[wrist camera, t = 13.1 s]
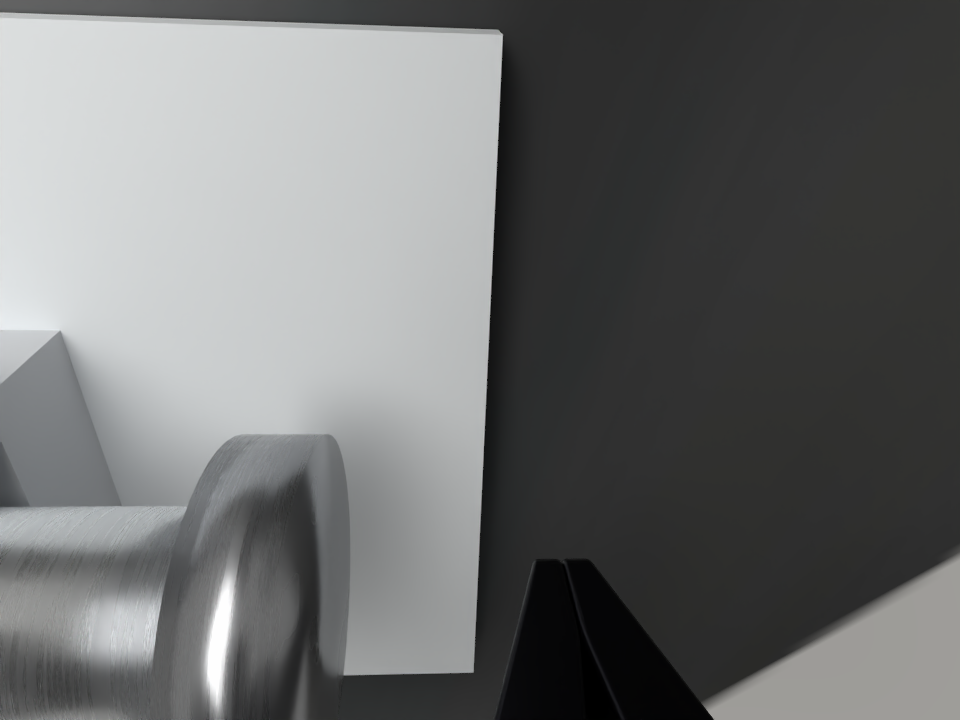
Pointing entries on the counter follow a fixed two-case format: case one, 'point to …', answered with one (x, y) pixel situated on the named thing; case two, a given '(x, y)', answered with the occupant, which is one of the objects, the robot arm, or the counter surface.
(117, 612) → the shaft
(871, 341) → the counter surface
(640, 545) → the counter surface
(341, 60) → the bearing rail
